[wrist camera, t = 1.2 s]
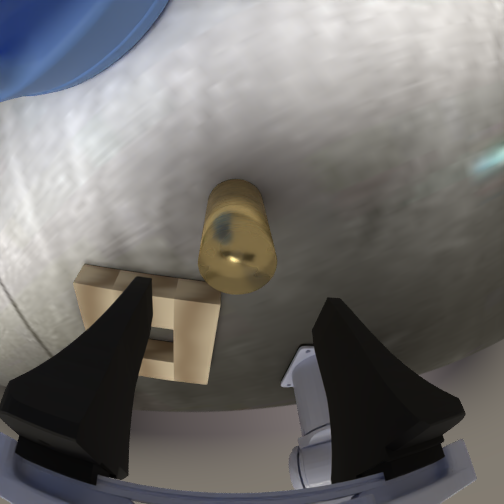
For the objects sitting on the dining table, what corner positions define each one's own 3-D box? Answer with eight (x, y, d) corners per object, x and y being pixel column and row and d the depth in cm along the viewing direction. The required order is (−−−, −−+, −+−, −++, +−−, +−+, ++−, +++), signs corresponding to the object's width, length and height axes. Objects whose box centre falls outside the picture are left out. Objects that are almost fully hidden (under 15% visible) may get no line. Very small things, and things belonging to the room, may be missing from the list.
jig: (221, 283, 23) (220, 304, 21) (207, 365, 30) (207, 384, 28) (84, 264, 21) (73, 282, 19) (103, 349, 28) (98, 367, 26)
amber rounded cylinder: (268, 184, 19) (285, 236, 13) (256, 232, 21) (267, 297, 15) (211, 175, 18) (202, 224, 13) (204, 225, 20) (195, 289, 15)
